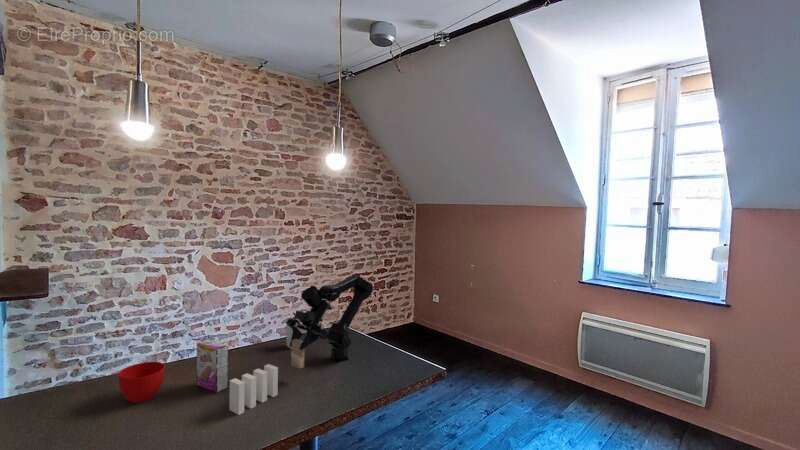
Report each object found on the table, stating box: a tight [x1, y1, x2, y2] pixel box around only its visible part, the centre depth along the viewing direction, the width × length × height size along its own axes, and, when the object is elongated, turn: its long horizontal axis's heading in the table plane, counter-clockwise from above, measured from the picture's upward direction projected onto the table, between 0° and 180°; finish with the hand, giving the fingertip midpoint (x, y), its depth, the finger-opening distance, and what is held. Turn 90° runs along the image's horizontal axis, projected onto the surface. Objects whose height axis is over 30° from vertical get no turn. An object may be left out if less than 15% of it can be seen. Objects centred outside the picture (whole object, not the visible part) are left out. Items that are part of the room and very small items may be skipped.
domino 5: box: [290, 339, 306, 369], centre depth 142 cm, size 2×5×10 cm, turn 59°
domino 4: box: [263, 363, 279, 398], centre depth 132 cm, size 2×5×10 cm, turn 59°
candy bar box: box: [196, 338, 229, 394], centre depth 135 cm, size 11×5×16 cm, turn 65°
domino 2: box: [241, 372, 257, 409], centre depth 124 cm, size 2×5×10 cm, turn 59°
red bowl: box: [118, 361, 166, 404], centre depth 128 cm, size 13×17×10 cm
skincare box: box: [285, 320, 293, 350], centre depth 175 cm, size 6×4×12 cm
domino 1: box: [228, 377, 245, 416], centre depth 120 cm, size 2×5×10 cm, turn 59°
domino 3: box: [252, 368, 268, 403], centre depth 128 cm, size 2×5×10 cm, turn 59°
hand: (295, 348), depth 141 cm, fingers closed on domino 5, 5 cm apart
